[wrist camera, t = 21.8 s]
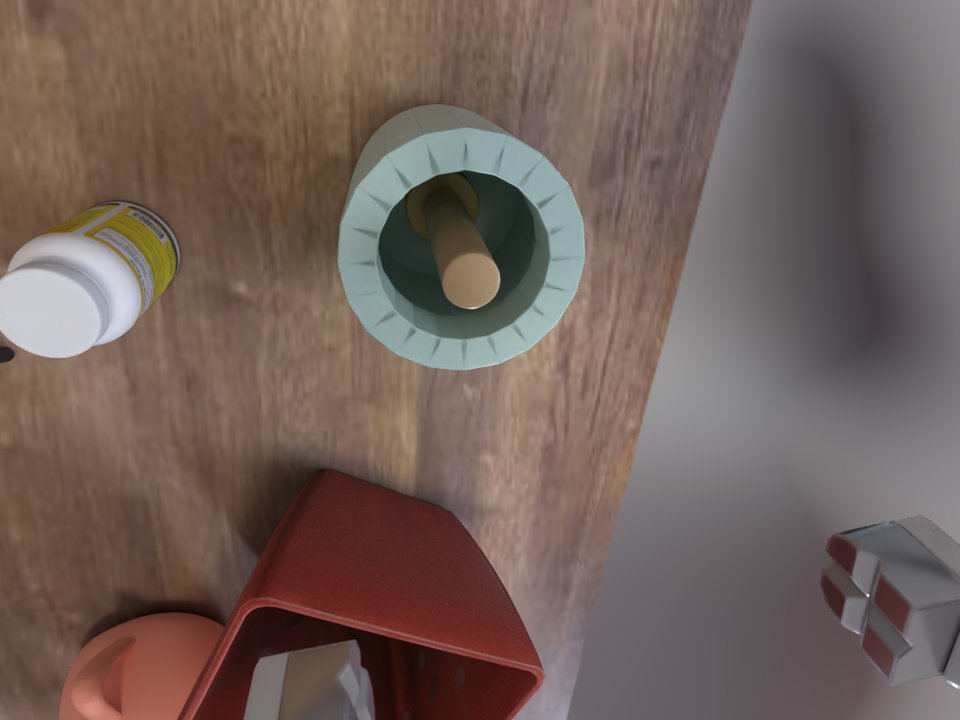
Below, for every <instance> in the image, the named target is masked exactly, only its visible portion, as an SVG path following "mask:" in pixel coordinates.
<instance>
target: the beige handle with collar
mask: <svg viewBox="0 0 960 720" xmlns="http://www.w3.org/2000/svg"><path fill="white" fill-rule="evenodd" d="M405 206H406V213H407V218H408V221H409V223H410V225H411V227H412V228H413V230H414V231H415V232H416V233H417V234H418V235H419V236H420V237H422V238H423V239H425V240H427V241H429V242H431V245H432V249H433V253H434V257H435V261H436V265H437V269H438V273H439V277H440V281H441V285H442V289H443V292H444V294H445V296H446V297H447V298H448V300H449V301H450V302H452V303H453V304H455V305H456V306H458V307H461V308H466V309H473V308H478V307H481V306H483V305H485V304H487V303H488V302H490V301H491V300H492V299H493V298H494V296H495V295H496V293H497V291H498V289H499V286H500V273H499V270H498V267H497V265H496V264H495V262H494V260H493V258H492V256H491V254H490V252H489V251H488V249H487V247H486V245H485V243H484V241H483V239H482V237H481V236H480V234H479V232H478V230H477V228H476V226H475V223H476V221H477V218H478V215H479V199H478V196H477V193H476V191H475V189H474V187H473V186H472V184H471V183H470V181H469V180H468V178H467V177H466V175H465V174H464V173H463V172H462V171H457V172H451V173H445V174H440V175H436V176H434V177H432V178H430V179H428V180H426V181H425V182H423V183H421V184H419V185H417V186H415V187H413V188H412V189H410V190H409V191H408V192H407V193H406V194H405Z"/></svg>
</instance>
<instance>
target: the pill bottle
mask: <svg viewBox="0 0 960 720" xmlns="http://www.w3.org/2000/svg"><path fill="white" fill-rule="evenodd" d="M179 263H180V251H179V247H178V243H177V240H176V238H175V236H174V234H173V232H172V231H171V230H170V228H169V227H168V226H167V225H166V223H165V222H163V221H162V220H161V219H160V218H159V217H158V216H157V215H155V214H154V213H152V212H151V211H149V210H147V209H145V208H143V207H141V206H138V205H135V204H131V203H127V202H106V203H102V204H99V205H96V206H94V207H91V208H89V209H87V210H85V211H84V212H82V213H80V214H78V215H76V216H74V217H73V218H71V219H69V220H67V221H65V222H63V223H62V224H60V225H58V226H56V227H54V228H53V229H51V230H49V231H47V232H45V233H43V234H41V235H39V236H38V237H36V238H34V239H32V240H31V241H29V242H27V243H26V244H25V245H23V246H22V247H21V248H20V249H19V250H18V251H17V252H16V253H15V255H14V256H13V258H12V260H11V262H10V264H9V267H8V270H7V274H6V275H5V276H4V277H2V278H1V279H0V331H1V332H2V333H3V334H4V335H5V336H6V337H7V338H8V339H9V340H10V341H12V342H13V343H14V344H16V345H17V346H19V347H20V348H22V349H24V350H26V351H28V352H31V353H34V354H37V355H40V356H44V357H50V358H67V357H72V356H75V355H78V354H81V353H83V352H85V351H86V350H88V349H89V348H90V347H91V346H96V345H101V344H105V343H108V342H111V341H113V340H115V339H117V338H119V337H120V336H122V335H123V334H124V333H126V332H127V331H128V330H129V329H130V328H131V327H132V326H133V325H134V324H135V323H136V322H137V321H138V320H139V318H140V317H141V316H142V315H143V314H144V313H145V312H146V311H147V309H148V308H149V307H150V306H151V305H152V304H153V303H154V302H155V300H156V299H157V298H158V297H159V296H160V295H161V294H162V293H163V291H164V290H165V289H166V288H167V287H168V286H169V285H170V283H171V282H172V281H173V279H174V278H175V276H176V274H177V271H178V268H179Z"/></svg>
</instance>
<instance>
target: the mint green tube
mask: <svg viewBox="0 0 960 720" xmlns="http://www.w3.org/2000/svg"><path fill="white" fill-rule="evenodd" d="M457 171H462V172H463V173H464V174H465V175H466V177H467V178H468V180H469V181H470V183H471V184H472V186H473V187H474V189H475V191H476V193H477V196H478V199H479V215H478V218H477V221H476V223H475V226H476V228H477V230H478V232H479V234H480V236H481V237H482V239H483V241H484V243H485V245H486V247H487V249H488V251H489V252H490V254H491V256H492V258H493V260H494V262H495V264H496V265H497V267H498V270H499V273H500V286H499V289H498V291H497V293H496V295H495V296H494V298H493V299H492V300H491V301H490V302H488V303H487V304H485V305H483V306H481V307H478V308H473V309H466V308H461V307H458V306H456V305H455V304H453V303H452V302H450V301H449V300H448V298H447V297H446V296H445V294H444V292H443V289H442V285H441V281H440V277H439V273H438V269H437V265H436V261H435V257H434V253H433V249H432V245H431V242H429V241H427V240H425V239H423V238H422V237H420V236H419V235H418V234H417V233H416V232H415V231H414V230H413V228H412V227H411V225H410V223H409V221H408V218H407V213H406V206H405V194H406V193H407V192H408V191H409V190H410V189H412V188H413V187H415V186H417V185H419V184H421V183H423V182H425V181H426V180H428V179H430V178H432V177H434V176H436V175H440V174H445V173H451V172H457ZM582 220H583V218H582V215H581V213H580V210H579V208H578V205H577V203H576V200H575V198H574V195H573V193H572V190H571V188H570V185H568V182H567V181H566V180H565V179H564V178H563V177H562V176H561V174H560V173H559V172H558V171H557V170H556V169H555V167H554V166H553V165H552V164H551V163H550V162H549V160H548V159H547V158H546V157H545V156H544V155H543V154H542V153H540V152H539V151H537V150H535V149H534V148H532V147H530V146H529V145H527V144H526V143H524V142H522V141H521V140H519V139H518V138H516V137H514V136H513V135H511V134H510V133H508V132H506V131H505V130H503V129H502V128H500V127H498V126H497V125H495V124H494V123H492V122H490V121H488V120H487V119H485V118H483V117H482V116H480V115H478V114H476V113H474V112H473V111H471V110H468V109H464V108H461V107H457V106H452V105H445V104H430V105H422V106H418V107H414V108H411V109H408V110H406V111H403V112H401V113H399V114H397V115H396V116H394V117H392V118H391V119H389V120H388V121H387V122H385V123H384V124H383V125H382V126H381V127H380V128H379V129H378V130H377V131H376V132H375V133H374V134H373V135H372V136H371V138H370V139H369V140H368V142H367V143H366V145H365V146H364V148H363V150H362V152H361V154H360V157H359V160H358V162H357V165H356V167H355V169H354V172H353V176H352V180H351V184H350V188H349V191H348V195H347V199H346V203H345V207H344V211H343V214H342V218H341V222H340V229H339V242H338V255H337V262H338V264H337V266H338V269H339V273H340V277H341V281H342V285H343V288H344V292H345V296H346V299H347V302H348V304H349V305H350V307H351V308H352V310H353V311H354V313H355V314H356V316H357V317H358V319H359V320H360V322H361V323H362V325H363V326H364V328H365V329H366V331H368V333H369V334H371V335H372V336H373V337H374V338H376V339H377V340H378V341H379V342H381V343H382V344H383V345H384V346H386V347H387V348H388V349H389V350H391V351H392V352H393V353H394V354H396V355H399V356H401V357H404V358H406V359H409V360H411V361H414V362H416V363H419V364H421V365H424V366H426V367H428V366H429V367H430V368H441V369H452V370H469V369H474V368H480V367H485V366H490V365H495V364H498V363H502V362H504V361H506V360H508V359H510V358H512V357H514V356H516V355H518V354H520V353H522V352H524V351H526V350H528V349H529V348H530V347H532V346H533V345H534V344H535V343H536V342H538V341H539V340H540V339H541V338H542V337H543V336H544V335H545V334H546V333H547V332H549V331H550V330H551V329H552V328H553V327H554V326H555V325H556V323H557V322H558V321H559V319H560V318H561V316H562V315H563V313H564V311H565V310H566V308H567V306H568V305H569V303H570V301H571V300H572V298H573V297H574V295H575V293H576V291H577V287H578V283H579V280H580V276H581V272H582V268H583V264H584V261H585V246H584V227H583V221H582Z"/></svg>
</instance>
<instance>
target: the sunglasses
mask: <svg viewBox="0 0 960 720" xmlns="http://www.w3.org/2000/svg"><path fill="white" fill-rule="evenodd" d="M13 358H14V352H13V351H12V350H11V349H10V348H8V347H0V363H4V362H7V361H10V360H12V359H13Z"/></svg>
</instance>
